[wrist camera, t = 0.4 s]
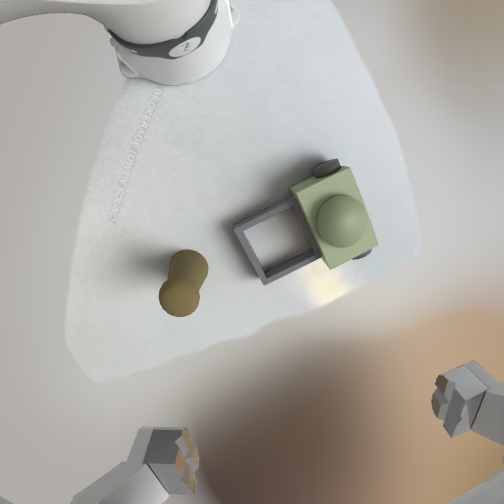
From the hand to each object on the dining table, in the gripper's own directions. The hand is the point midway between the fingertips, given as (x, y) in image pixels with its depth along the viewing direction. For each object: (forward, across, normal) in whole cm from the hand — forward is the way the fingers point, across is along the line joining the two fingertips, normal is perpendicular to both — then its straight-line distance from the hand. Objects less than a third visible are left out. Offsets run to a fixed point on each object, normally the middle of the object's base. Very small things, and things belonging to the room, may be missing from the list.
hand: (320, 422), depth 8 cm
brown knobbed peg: (+38, +12, +4) cm, 40 cm away
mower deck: (+37, -6, +1) cm, 38 cm away
